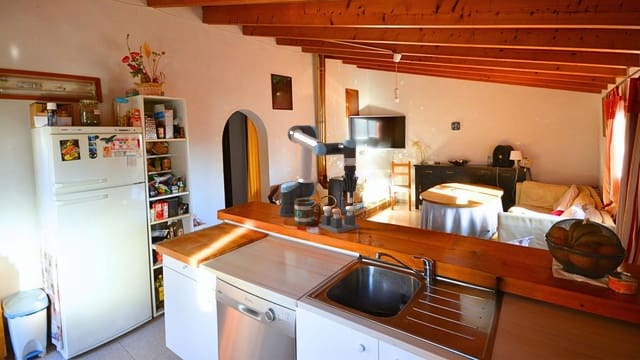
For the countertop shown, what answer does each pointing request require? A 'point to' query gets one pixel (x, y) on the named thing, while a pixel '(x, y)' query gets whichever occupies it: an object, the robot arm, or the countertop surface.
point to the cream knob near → (326, 210)
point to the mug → (305, 212)
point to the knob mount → (338, 223)
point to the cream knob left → (349, 210)
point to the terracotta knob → (336, 212)
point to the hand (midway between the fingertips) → (350, 202)
